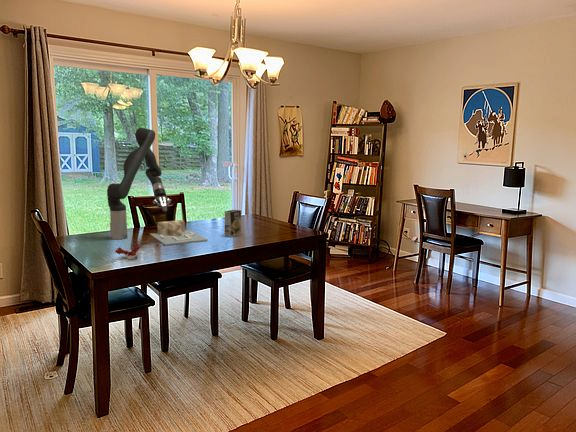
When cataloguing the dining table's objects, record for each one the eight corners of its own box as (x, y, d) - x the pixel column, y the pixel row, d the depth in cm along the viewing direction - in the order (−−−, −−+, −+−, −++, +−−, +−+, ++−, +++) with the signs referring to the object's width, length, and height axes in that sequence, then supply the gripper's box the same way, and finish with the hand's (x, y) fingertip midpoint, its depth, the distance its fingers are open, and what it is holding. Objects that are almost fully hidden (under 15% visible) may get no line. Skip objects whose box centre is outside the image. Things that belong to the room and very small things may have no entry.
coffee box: (231, 237, 283) (231, 212, 280) (224, 235, 287) (224, 210, 284) (241, 235, 290) (241, 210, 287) (234, 233, 294) (234, 209, 291)
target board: (164, 245, 258) (164, 242, 258) (149, 235, 285) (149, 232, 285) (207, 241, 272) (207, 237, 272) (189, 231, 299) (189, 228, 298)
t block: (164, 237, 275) (164, 226, 273) (157, 233, 287) (157, 222, 286) (190, 235, 283) (189, 224, 282) (182, 230, 295) (181, 220, 294)
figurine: (123, 263, 223) (122, 250, 222) (110, 259, 230) (110, 246, 229) (149, 257, 234) (149, 244, 233) (136, 253, 241) (136, 241, 240)
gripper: (150, 188, 299) (156, 209, 291) (169, 187, 306) (176, 207, 298) (148, 195, 304) (154, 215, 296) (167, 193, 311) (174, 214, 303)
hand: (165, 211), depth 297 cm, fingers closed
